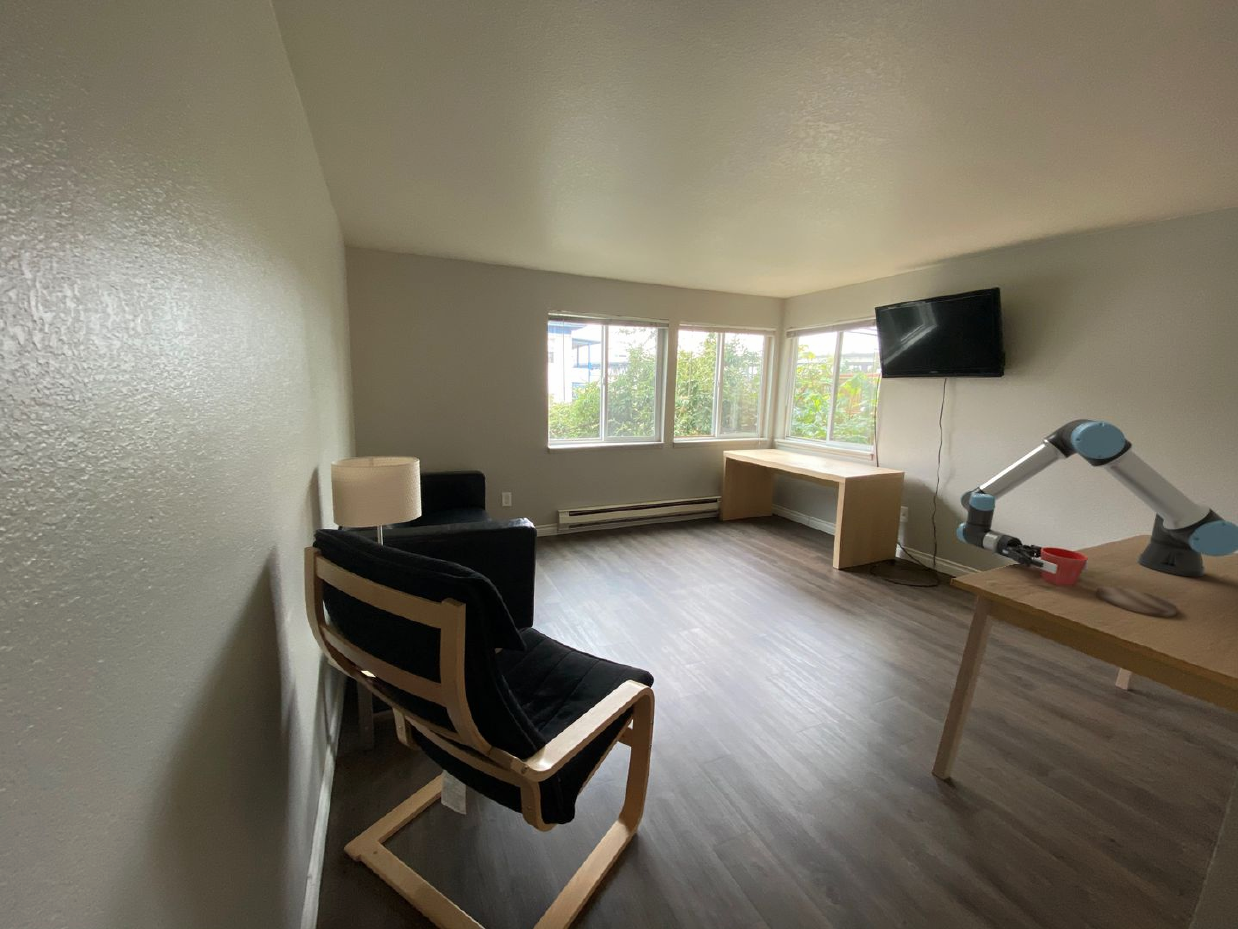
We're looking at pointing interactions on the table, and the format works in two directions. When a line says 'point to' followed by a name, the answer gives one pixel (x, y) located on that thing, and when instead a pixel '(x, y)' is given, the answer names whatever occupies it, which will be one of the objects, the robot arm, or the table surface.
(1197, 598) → the table surface
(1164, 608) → the brown plate
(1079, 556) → the flower pot
